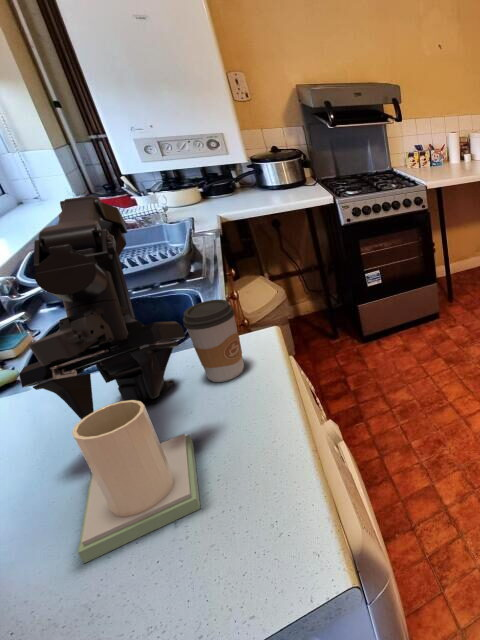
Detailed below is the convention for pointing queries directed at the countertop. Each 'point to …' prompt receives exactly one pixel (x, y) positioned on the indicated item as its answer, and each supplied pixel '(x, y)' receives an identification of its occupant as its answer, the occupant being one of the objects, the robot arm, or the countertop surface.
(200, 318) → the coffee cup
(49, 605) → the countertop surface
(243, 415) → the countertop surface
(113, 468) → the cream cup
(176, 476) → the kitchen scale
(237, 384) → the countertop surface
